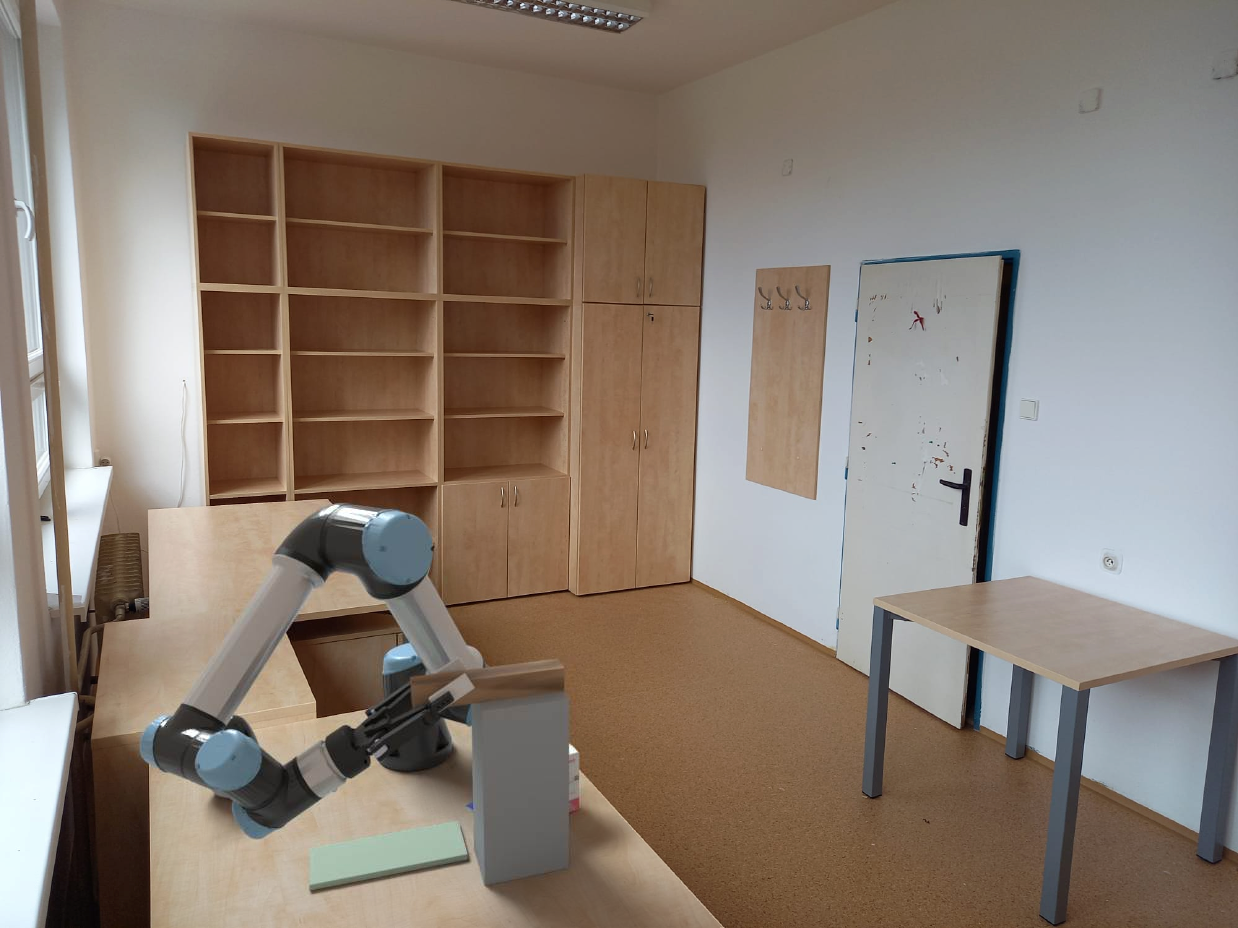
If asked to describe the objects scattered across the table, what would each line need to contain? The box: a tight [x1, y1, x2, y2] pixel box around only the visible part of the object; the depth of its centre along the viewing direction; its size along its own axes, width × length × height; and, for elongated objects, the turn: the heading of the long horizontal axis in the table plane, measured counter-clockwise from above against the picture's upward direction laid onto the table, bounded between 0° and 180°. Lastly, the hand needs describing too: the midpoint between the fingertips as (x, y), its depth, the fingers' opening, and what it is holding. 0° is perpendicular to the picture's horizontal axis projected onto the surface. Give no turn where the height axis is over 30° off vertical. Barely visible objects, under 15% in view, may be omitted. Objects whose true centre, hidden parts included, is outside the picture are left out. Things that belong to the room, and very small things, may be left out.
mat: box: [308, 820, 469, 891], centre depth 143 cm, size 10×25×1 cm, turn 109°
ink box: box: [569, 742, 580, 813], centre depth 157 cm, size 9×5×12 cm, turn 118°
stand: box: [471, 690, 570, 886], centre depth 141 cm, size 10×14×30 cm
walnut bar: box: [410, 658, 565, 709], centre depth 136 cm, size 4×24×4 cm, turn 109°
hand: (465, 671), depth 135 cm, fingers open, 6 cm apart
